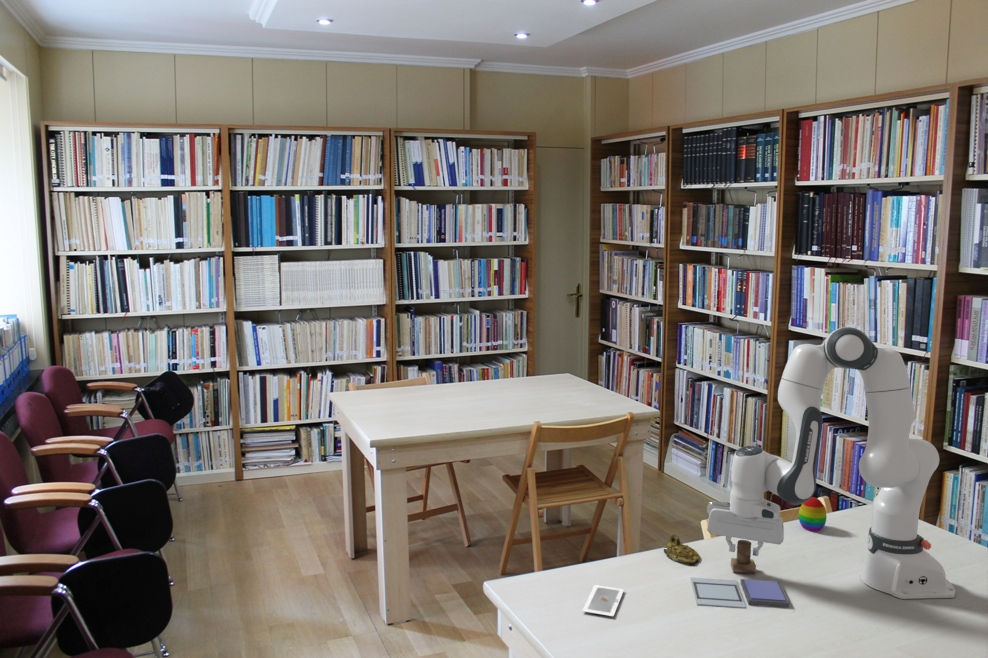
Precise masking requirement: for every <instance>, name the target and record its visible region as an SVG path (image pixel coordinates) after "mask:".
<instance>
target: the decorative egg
mask: <svg viewBox="0 0 988 658" xmlns="http://www.w3.org/2000/svg"><path fill="white" fill-rule="evenodd" d="M798 520H799V521H798V522H799V524H800V526H801V527H802V528H803V529H805V530H806V531H807V530H808V531H811V532H818V531H821V530H822V529H823V528H824V527H825V525H826V522H827V512H826V508H825V505H824V504H823V502H822V501H821V499H819V498H818V497H814V496H812V497H811V498H810V499H809V500H808V501H806V502H805V503H803V504H800V508H799V511H798Z"/></svg>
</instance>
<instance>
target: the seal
mask: <svg viewBox="0 0 988 658" xmlns="http://www.w3.org/2000/svg"><path fill="white" fill-rule="evenodd" d="M664 548H667V549H664ZM664 548H663V552H664V553H663V554H665V556H666V557H667V559H669V560H671V561H673V562H675V563H679V564H682V565H685V566H694V565H695V564H698V563H699V562H700V560H701V556H700V554H699V553H698V552H697V551H696V550H695V549H694V548H692V547H691V546H689V545H688V544H683V543H681V539H680V536H678V535H677V534H675V533H671V534H670V536H669V543H667V544H666V545H665V546H664Z"/></svg>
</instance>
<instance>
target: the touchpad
mask: <svg viewBox="0 0 988 658" xmlns="http://www.w3.org/2000/svg"><path fill="white" fill-rule="evenodd" d="M624 591H625V589H623V588H617V587H612V586H605V585H598V584H594V585H593V587H592V590H591V592H590V593H589V595H588V598H587V599H586V601H585V604H584V606H583V608H582V609H581V612H586V613H590V614H598V615H602V616H603V615H604V616H609V617H614V615H616V614H615V613H616V610H617V608H618V606H619V603H620V601H621V599H622V596H623V593H624Z"/></svg>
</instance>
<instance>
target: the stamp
mask: <svg viewBox="0 0 988 658" xmlns="http://www.w3.org/2000/svg"><path fill="white" fill-rule="evenodd" d="M736 544H737V548H736V557H735V558H734V557H731V558H730V568H731V570H732V573H733V574H742V575H755V574H756V573H757V572H756V569H757V564H756V563H755V560H754V559H753V558H751V553H752V542H751V541H750V540H747V539H740V540H737V543H736Z"/></svg>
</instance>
